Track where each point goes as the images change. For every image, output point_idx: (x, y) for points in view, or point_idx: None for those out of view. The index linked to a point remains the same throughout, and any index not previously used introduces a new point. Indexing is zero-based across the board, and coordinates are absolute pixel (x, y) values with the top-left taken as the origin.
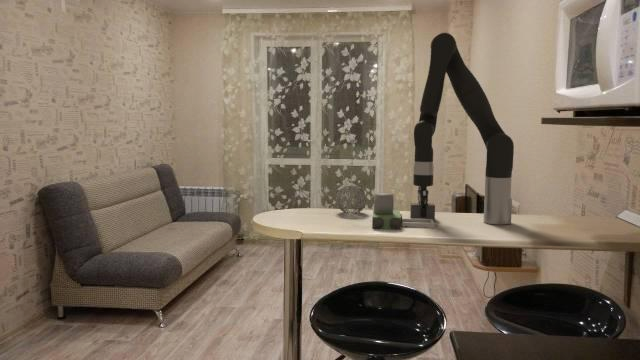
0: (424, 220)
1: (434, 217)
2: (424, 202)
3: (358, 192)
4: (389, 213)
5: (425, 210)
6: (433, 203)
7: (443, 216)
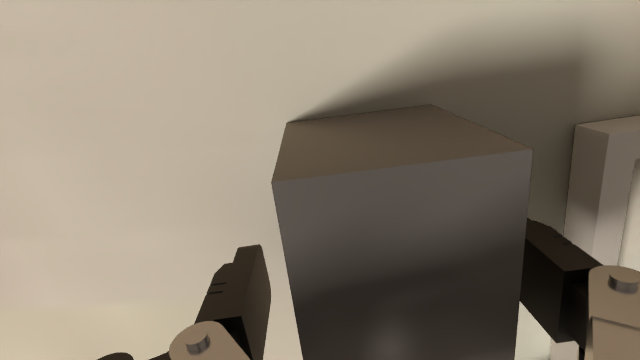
0: (617, 207)
1: (443, 113)
2: (231, 339)
3: None
4: None
5: (588, 255)
6: (279, 191)
7: (109, 5)
